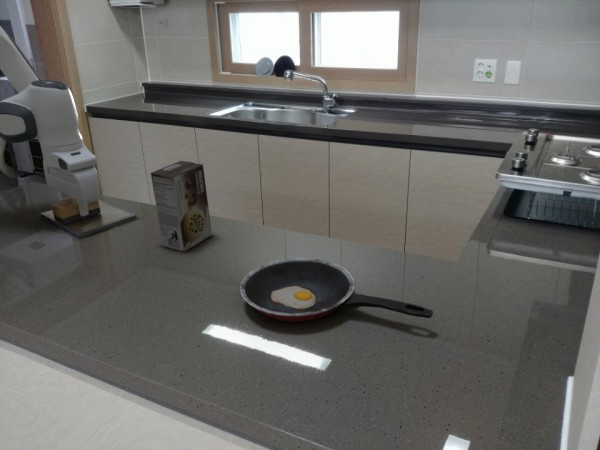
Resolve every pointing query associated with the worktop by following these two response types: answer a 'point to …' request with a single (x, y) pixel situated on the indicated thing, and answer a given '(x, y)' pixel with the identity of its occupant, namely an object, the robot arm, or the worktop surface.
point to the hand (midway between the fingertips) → (77, 212)
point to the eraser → (72, 210)
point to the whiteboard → (94, 220)
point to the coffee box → (181, 204)
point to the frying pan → (310, 291)
